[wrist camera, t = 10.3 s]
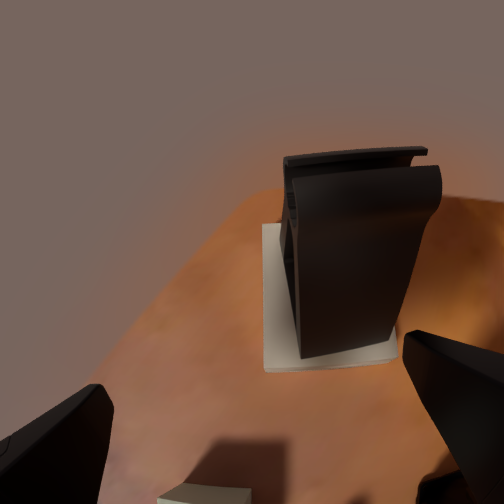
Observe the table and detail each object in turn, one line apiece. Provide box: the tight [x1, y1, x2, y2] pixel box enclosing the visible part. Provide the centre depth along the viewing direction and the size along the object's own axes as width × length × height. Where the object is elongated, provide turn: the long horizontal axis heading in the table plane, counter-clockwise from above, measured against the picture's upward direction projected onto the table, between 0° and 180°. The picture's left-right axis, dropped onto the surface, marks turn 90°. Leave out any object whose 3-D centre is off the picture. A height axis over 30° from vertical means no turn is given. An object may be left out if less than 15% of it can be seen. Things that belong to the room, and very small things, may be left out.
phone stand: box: [279, 146, 442, 360], centre depth 15 cm, size 9×6×12 cm, turn 6°
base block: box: [262, 223, 398, 373], centre depth 22 cm, size 9×11×2 cm
